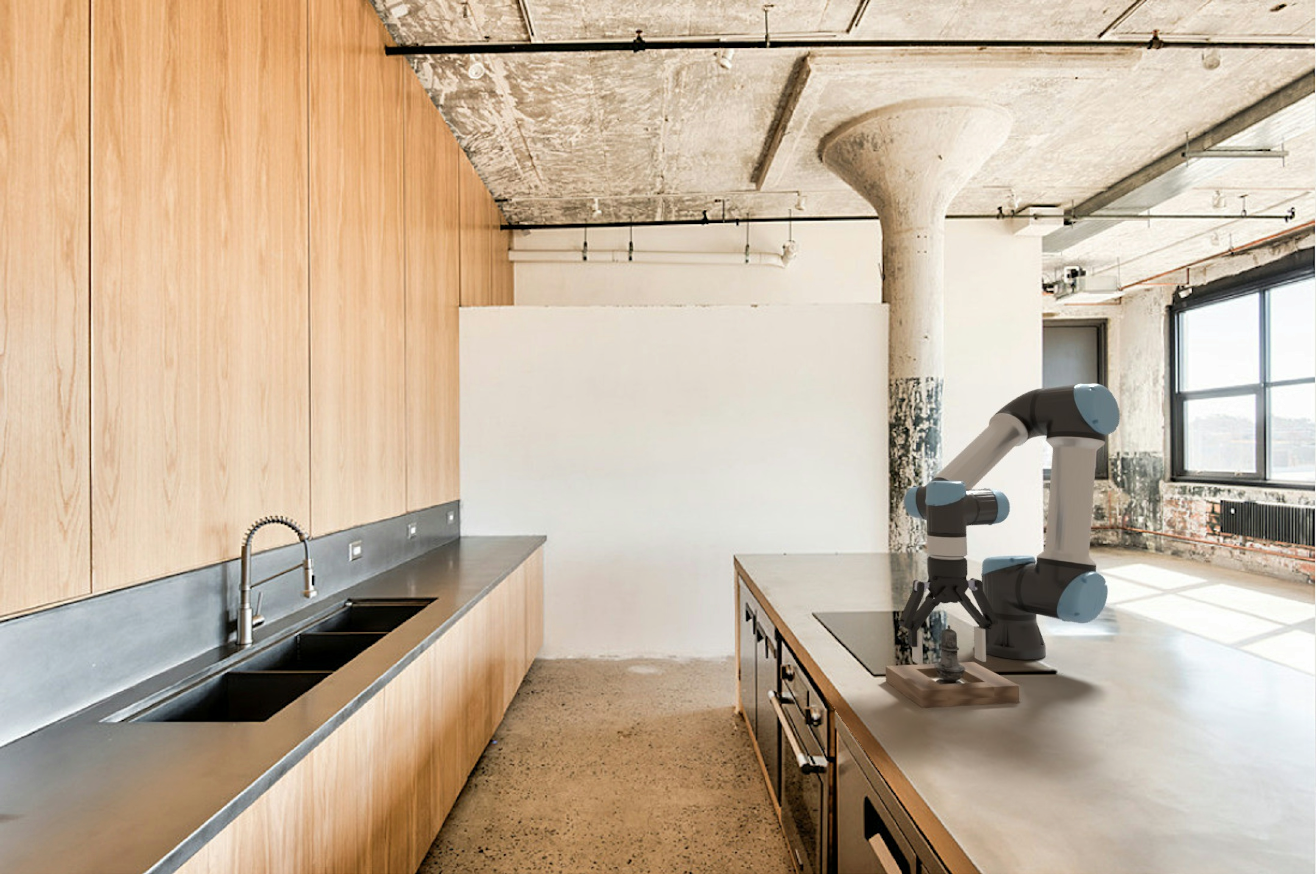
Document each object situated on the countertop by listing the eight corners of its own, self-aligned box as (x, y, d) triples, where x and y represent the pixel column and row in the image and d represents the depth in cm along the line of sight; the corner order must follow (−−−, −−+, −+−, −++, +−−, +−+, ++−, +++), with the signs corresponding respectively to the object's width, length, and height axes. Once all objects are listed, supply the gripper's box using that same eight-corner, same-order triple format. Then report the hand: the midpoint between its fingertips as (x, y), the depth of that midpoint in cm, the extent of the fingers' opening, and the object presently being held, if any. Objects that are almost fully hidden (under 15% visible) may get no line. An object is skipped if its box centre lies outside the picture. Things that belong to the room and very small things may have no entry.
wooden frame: (973, 676, 143) (973, 661, 143) (1019, 702, 128) (1019, 685, 128) (885, 681, 141) (885, 666, 141) (922, 707, 126) (922, 690, 126)
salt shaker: (961, 691, 130) (961, 630, 131) (930, 685, 134) (929, 625, 134) (968, 683, 135) (967, 623, 135) (938, 677, 139) (937, 619, 139)
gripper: (992, 552, 140) (994, 653, 140) (880, 555, 137) (882, 658, 137) (1015, 557, 133) (1018, 664, 132) (897, 560, 130) (899, 669, 129)
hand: (949, 661), depth 135 cm, fingers open, 13 cm apart
